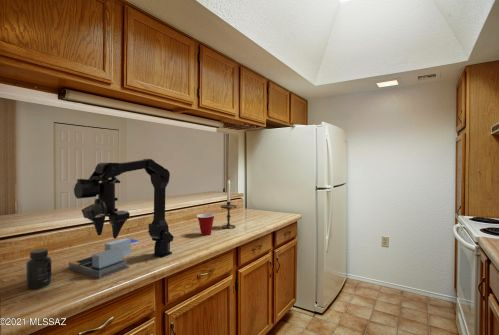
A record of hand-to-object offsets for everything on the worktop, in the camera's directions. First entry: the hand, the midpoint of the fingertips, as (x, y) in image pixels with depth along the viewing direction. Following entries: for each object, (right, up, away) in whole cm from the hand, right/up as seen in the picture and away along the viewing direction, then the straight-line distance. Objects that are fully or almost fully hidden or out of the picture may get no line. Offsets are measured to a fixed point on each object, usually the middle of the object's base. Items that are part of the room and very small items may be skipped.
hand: (107, 236), depth 103 cm
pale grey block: (-5, -14, +19) cm, 24 cm away
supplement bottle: (-18, -14, -10) cm, 25 cm away
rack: (-6, -14, +5) cm, 16 cm away
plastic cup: (+28, -14, +59) cm, 67 cm away
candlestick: (+40, -14, +78) cm, 89 cm away
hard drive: (-12, -14, +39) cm, 43 cm away
